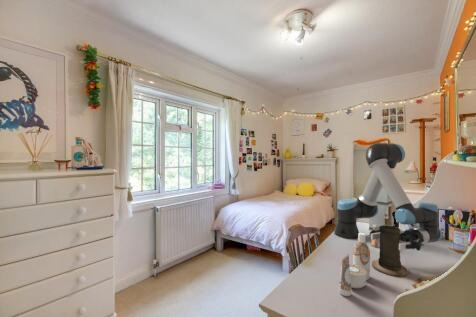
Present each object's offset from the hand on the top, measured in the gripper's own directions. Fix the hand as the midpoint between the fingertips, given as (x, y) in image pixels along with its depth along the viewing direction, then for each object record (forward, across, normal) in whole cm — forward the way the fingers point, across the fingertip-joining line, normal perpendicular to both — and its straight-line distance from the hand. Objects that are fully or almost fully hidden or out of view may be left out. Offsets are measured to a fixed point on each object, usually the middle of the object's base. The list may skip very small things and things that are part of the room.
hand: (384, 241), depth 108 cm
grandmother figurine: (-22, +22, -13) cm, 34 cm away
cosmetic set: (+24, -5, -14) cm, 28 cm away
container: (-3, 0, -12) cm, 13 cm away
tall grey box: (-52, +43, -13) cm, 69 cm away
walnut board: (-3, 0, -13) cm, 14 cm away
